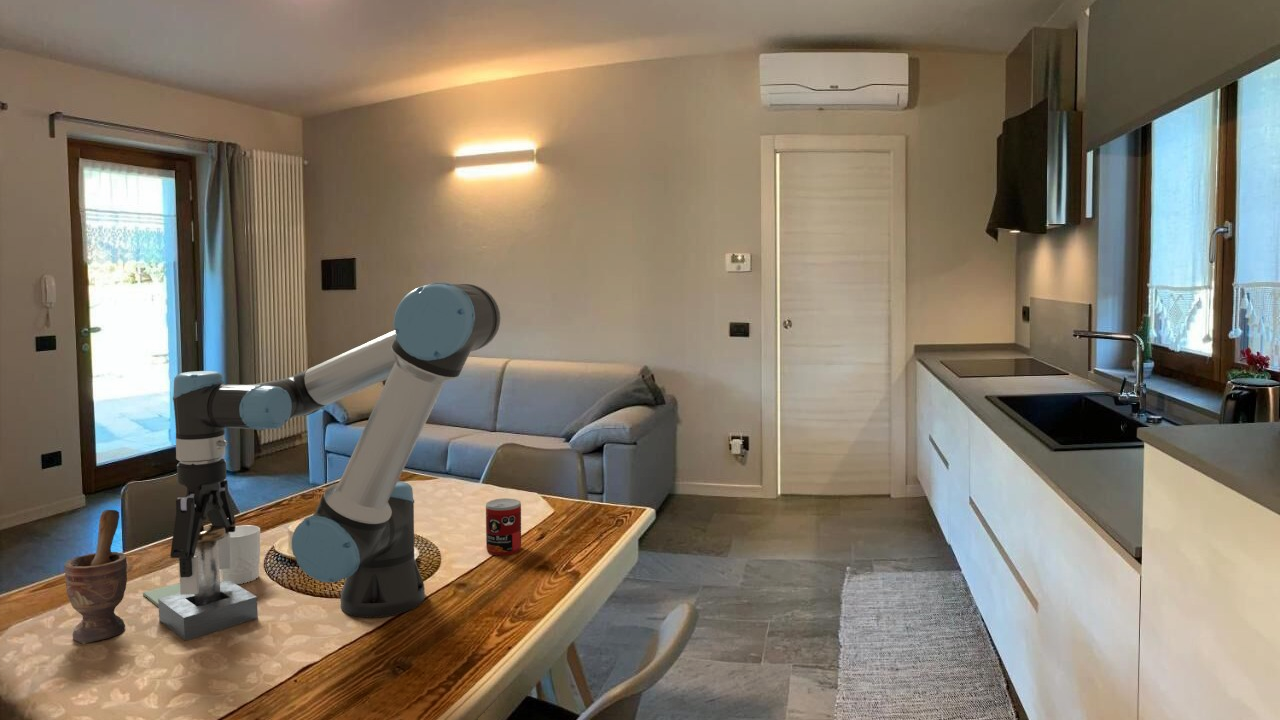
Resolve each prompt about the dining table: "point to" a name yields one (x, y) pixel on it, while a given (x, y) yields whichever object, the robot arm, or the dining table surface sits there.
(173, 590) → the mat
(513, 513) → the canned food
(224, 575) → the white cup
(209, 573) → the steel peg
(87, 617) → the mortar and pestle
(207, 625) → the block
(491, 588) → the dining table surface
